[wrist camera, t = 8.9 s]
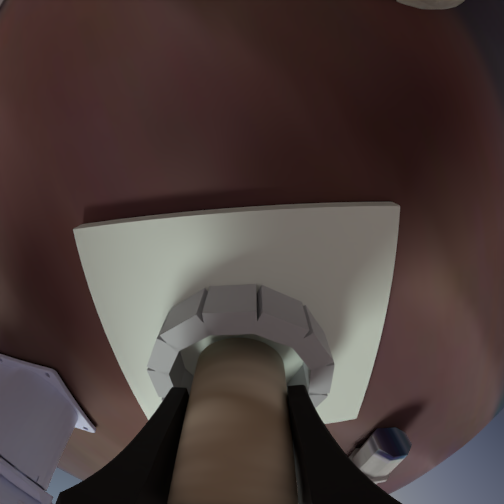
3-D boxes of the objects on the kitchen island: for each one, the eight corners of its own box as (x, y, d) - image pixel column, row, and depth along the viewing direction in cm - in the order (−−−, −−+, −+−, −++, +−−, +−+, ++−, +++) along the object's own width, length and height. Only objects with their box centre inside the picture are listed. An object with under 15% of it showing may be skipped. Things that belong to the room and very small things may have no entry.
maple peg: (205, 396, 13) (186, 520, 6) (189, 338, 11) (148, 490, 5) (284, 394, 13) (295, 522, 6) (284, 334, 11) (304, 497, 5)
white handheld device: (424, 454, 14) (301, 545, 20) (395, 406, 20) (295, 511, 26) (376, 462, 13) (264, 547, 19) (351, 405, 20) (261, 511, 25)
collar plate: (153, 416, 16) (144, 446, 14) (82, 224, 11) (46, 245, 9) (353, 409, 16) (363, 441, 13) (391, 201, 11) (425, 219, 8)
